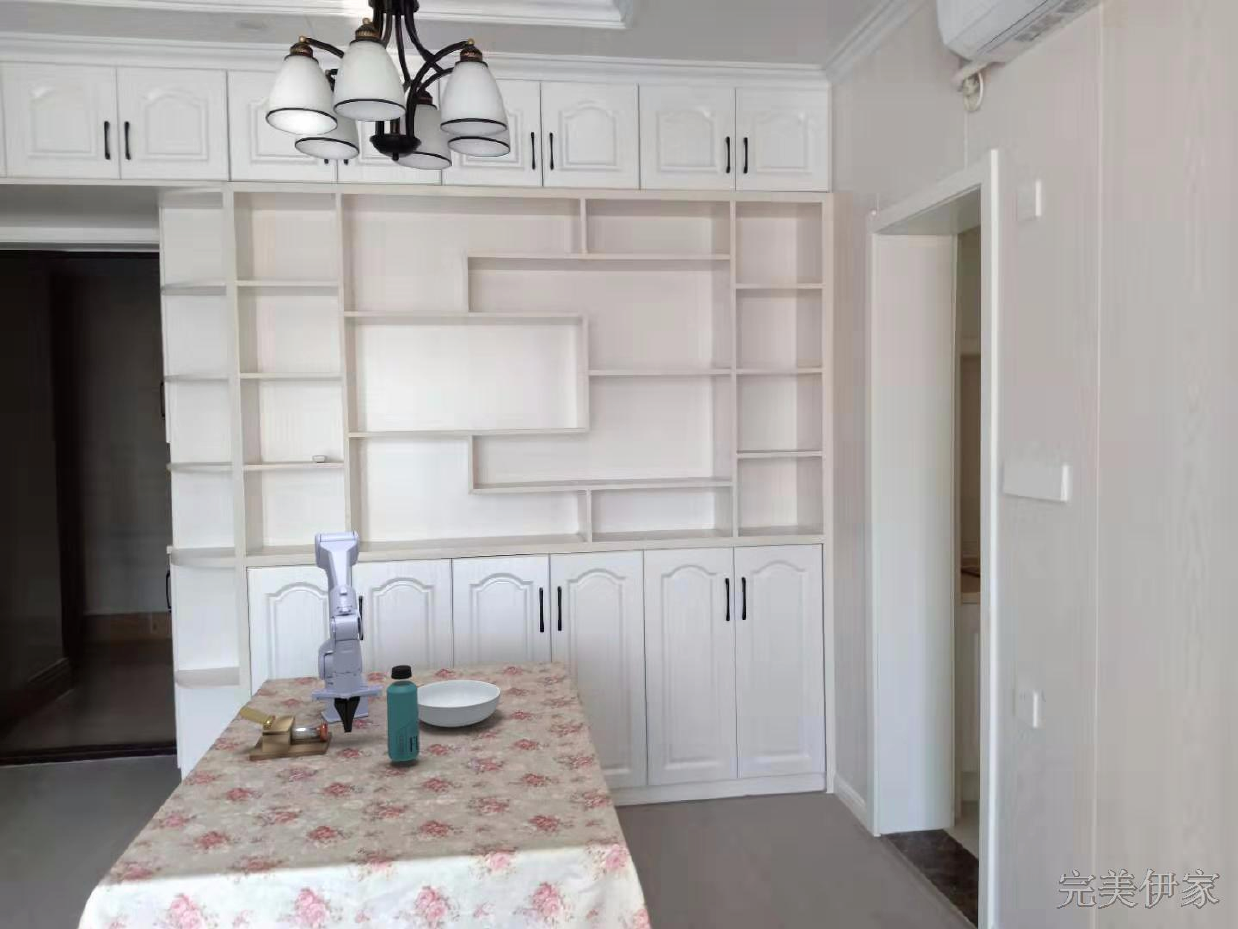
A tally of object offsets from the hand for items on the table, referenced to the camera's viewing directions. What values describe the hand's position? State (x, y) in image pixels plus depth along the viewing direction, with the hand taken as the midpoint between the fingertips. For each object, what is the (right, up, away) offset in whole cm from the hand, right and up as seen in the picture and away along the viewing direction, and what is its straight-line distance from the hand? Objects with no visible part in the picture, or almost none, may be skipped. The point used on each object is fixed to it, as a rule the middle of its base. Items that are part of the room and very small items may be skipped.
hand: (348, 731), depth 188 cm
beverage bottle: (+15, -3, -11) cm, 19 cm away
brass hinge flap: (-19, +4, -4) cm, 20 cm away
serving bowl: (+21, -2, +14) cm, 25 cm away
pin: (-9, -2, -2) cm, 10 cm away
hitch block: (-11, -3, -2) cm, 12 cm away
